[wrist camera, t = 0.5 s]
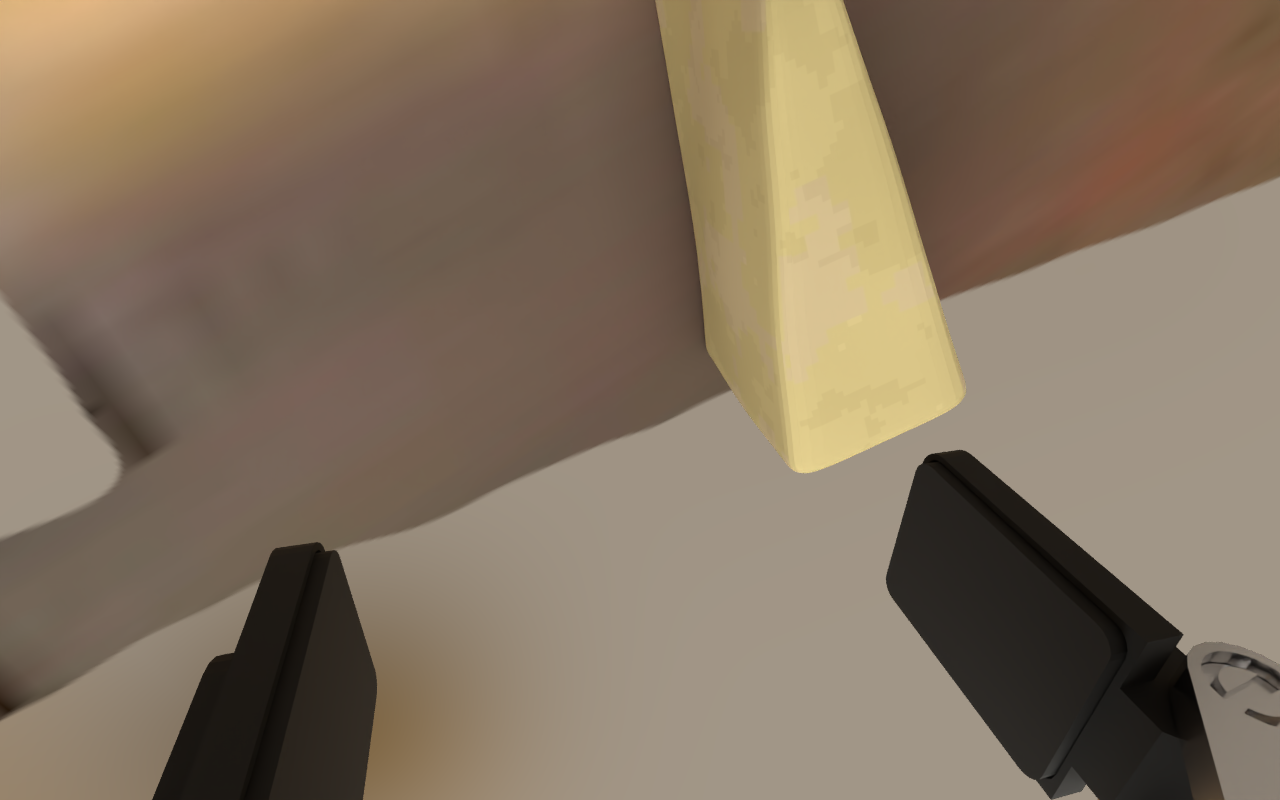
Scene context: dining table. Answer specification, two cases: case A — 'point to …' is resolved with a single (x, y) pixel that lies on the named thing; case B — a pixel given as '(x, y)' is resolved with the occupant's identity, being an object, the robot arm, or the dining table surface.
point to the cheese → (803, 229)
